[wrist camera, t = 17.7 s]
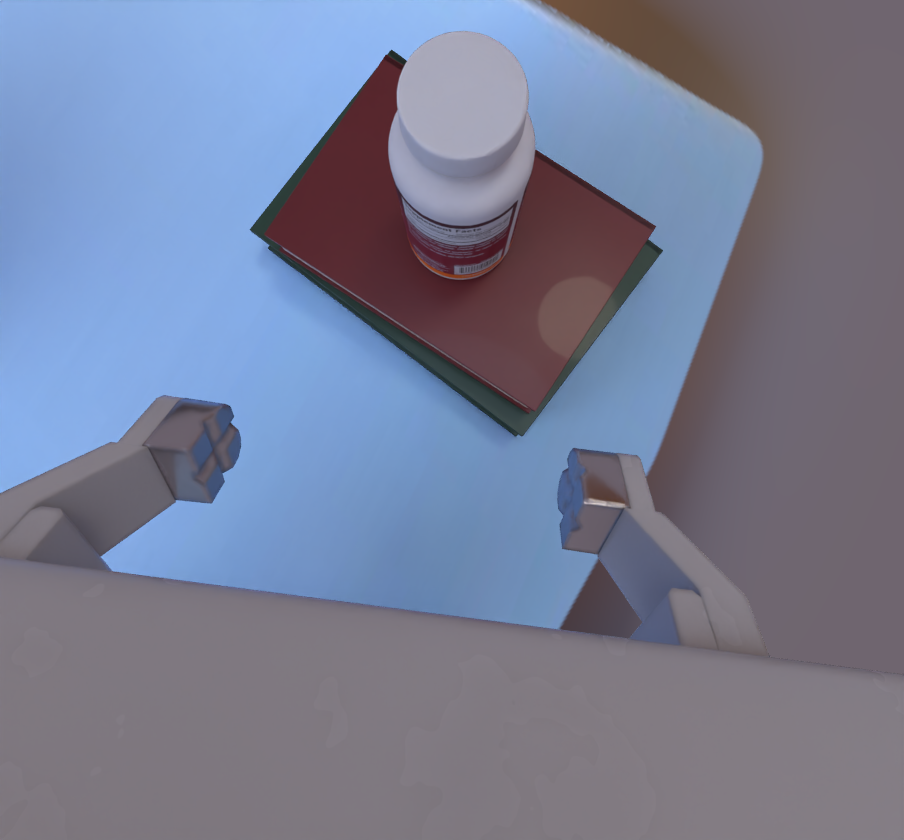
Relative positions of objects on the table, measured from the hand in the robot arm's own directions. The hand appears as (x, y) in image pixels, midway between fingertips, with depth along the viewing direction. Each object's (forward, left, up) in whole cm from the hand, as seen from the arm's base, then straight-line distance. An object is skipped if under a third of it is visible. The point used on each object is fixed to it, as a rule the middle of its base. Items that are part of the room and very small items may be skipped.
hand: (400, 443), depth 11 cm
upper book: (-9, +9, -18) cm, 22 cm away
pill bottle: (-9, +9, -16) cm, 20 cm away
